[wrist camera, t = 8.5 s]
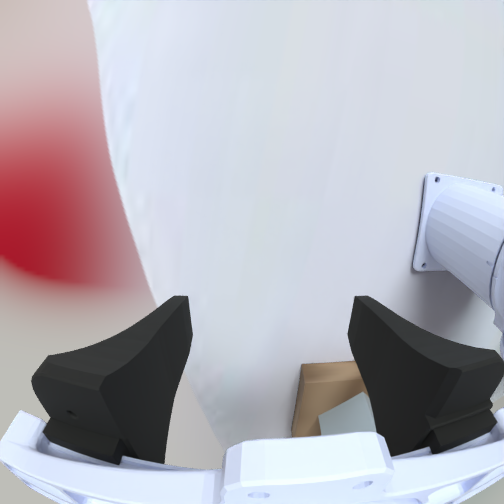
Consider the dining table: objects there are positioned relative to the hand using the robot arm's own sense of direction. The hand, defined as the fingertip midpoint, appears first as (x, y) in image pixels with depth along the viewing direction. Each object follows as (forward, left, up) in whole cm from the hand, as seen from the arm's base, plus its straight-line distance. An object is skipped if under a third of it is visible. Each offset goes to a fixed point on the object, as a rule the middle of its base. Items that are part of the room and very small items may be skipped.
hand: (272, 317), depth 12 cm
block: (-9, +17, -7) cm, 20 cm away
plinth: (-9, +17, -9) cm, 21 cm away
